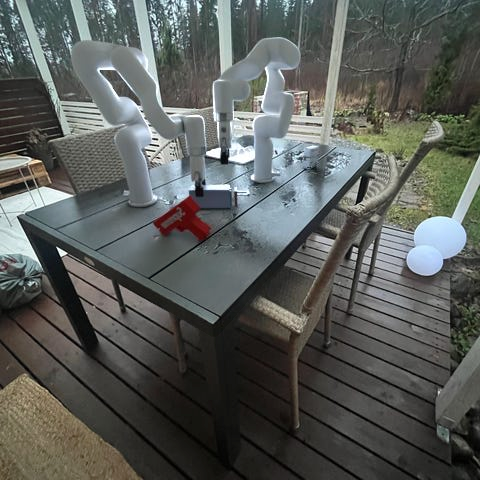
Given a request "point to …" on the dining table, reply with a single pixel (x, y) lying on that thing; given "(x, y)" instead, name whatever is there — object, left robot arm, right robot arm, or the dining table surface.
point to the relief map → (235, 154)
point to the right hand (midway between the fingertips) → (225, 160)
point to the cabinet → (212, 197)
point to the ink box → (310, 156)
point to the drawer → (237, 195)
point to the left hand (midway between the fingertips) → (201, 191)
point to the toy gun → (183, 220)
